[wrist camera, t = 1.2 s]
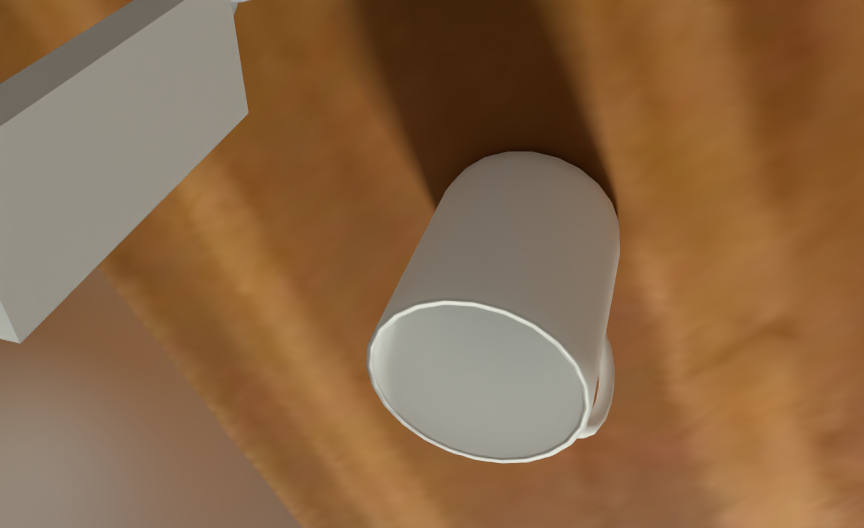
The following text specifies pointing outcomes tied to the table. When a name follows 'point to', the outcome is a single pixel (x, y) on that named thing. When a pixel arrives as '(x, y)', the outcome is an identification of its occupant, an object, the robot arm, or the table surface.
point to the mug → (504, 313)
